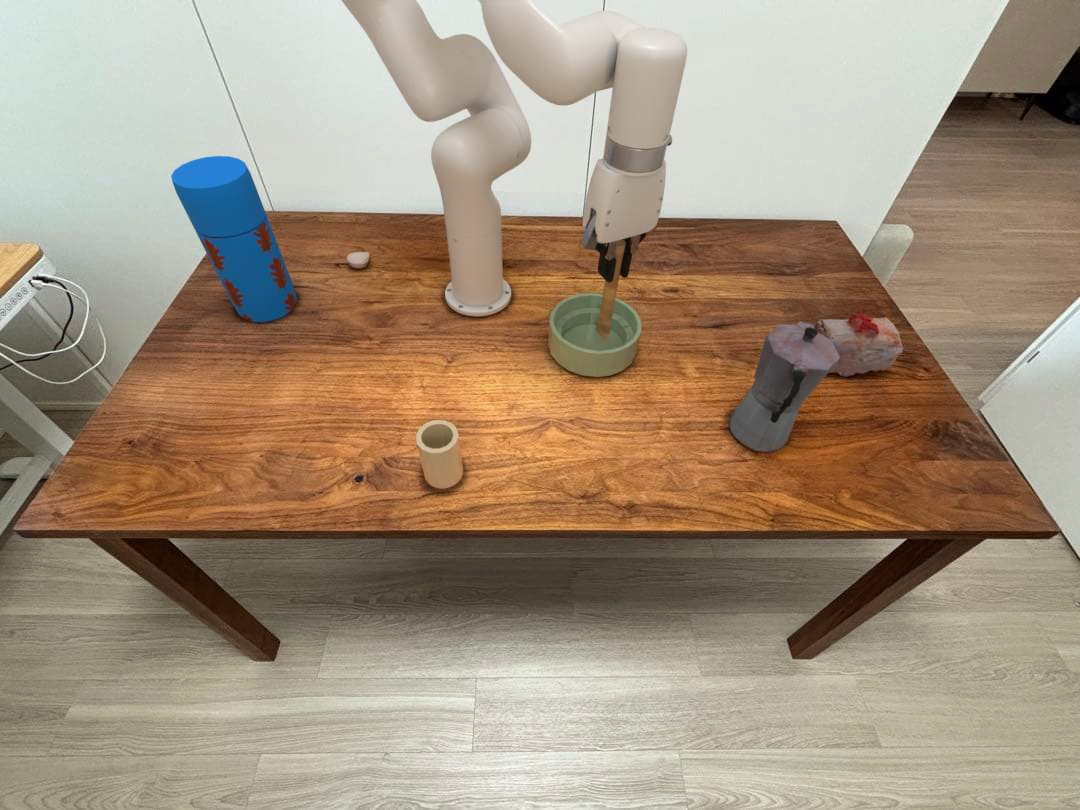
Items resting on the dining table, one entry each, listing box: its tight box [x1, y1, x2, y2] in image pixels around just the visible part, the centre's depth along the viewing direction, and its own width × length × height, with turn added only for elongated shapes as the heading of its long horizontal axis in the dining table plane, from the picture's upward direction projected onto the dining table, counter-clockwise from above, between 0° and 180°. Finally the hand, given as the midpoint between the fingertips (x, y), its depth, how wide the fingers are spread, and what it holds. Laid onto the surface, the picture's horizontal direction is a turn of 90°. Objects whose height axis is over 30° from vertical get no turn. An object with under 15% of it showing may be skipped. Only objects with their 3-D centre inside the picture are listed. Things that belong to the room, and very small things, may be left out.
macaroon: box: [346, 251, 370, 270], centre depth 108 cm, size 4×5×2 cm
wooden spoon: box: [596, 239, 626, 340], centre depth 82 cm, size 3×2×18 cm
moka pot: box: [728, 320, 840, 453], centre depth 76 cm, size 10×15×20 cm, turn 161°
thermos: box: [170, 155, 298, 323], centre depth 90 cm, size 11×11×25 cm
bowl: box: [547, 292, 642, 378], centre depth 92 cm, size 15×15×6 cm
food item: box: [813, 313, 904, 378], centre depth 90 cm, size 14×8×10 cm, turn 96°
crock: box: [415, 419, 464, 489], centre depth 73 cm, size 5×6×9 cm
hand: (612, 274), depth 80 cm, fingers closed on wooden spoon, 2 cm apart
